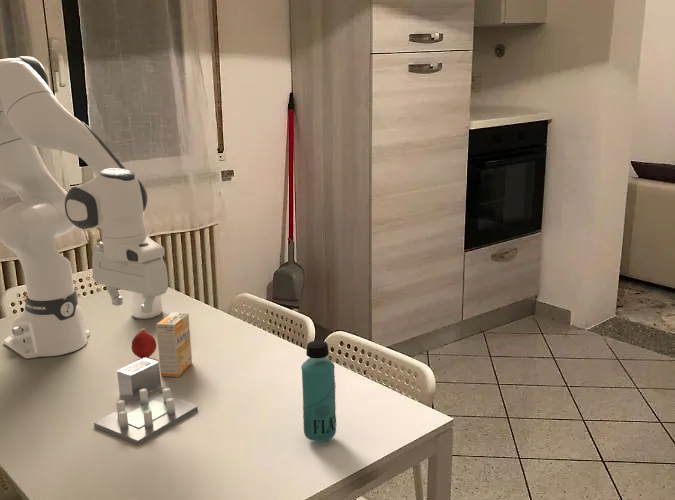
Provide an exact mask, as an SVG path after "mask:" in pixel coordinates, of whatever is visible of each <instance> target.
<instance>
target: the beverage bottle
mask: <svg viewBox="0 0 675 500" xmlns="http://www.w3.org/2000/svg"><path fill="white" fill-rule="evenodd" d="M305 353H306V356H307V357H308V358H307V359H306V360H305V361H304V362H303V363H302V364H301V368H300V369H301V379H302V380H301V386H302V417H303V418H302V419H303V420H302V421H303V427H302V428H303V434H304V436H305V437H306V439H308V440H310V441H312V442H327V441H329V440H332V439H333V438H334V436H335V435H336V432H337V425H338V424H337V414H336V409H337V408H336V403H337V402H336V391H337V390H336V389H337V387H336V380H335V379H336V375H335V363H334V362H333V360H331V359H330V358H327V357H328V356H329V354H330V352H329V344H328V343H327V342H326V341H324V340H313V341H310V342H308V343H307V344H306V352H305Z"/></svg>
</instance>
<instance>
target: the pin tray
mask: <svg viewBox="0 0 675 500" xmlns="http://www.w3.org/2000/svg"><path fill="white" fill-rule="evenodd" d="M171 392H172V391H171V388H169V387H165V388H163V389H162V393H160V392H158V391H156V390H155V391H154V390H153V391H151V392H148V393H147V389H141V390H139V393H140V397H139V398H137V399H135V400H133V402H131V403H128V404H127V405H126V402H125V400H121V399H120V400H117V401H116V403H115V404H116V410H115V411H113V412H111V413H109V414H107V415H105V416H104V417H102V418H100V419H97V420H96V421H94V422H93V426H94V428H95V429H98V430H100V431H103V432H105V433H107V434H110V435H112V436H116V437H117V438H120V439H122V440H124V441H127V442H129V443H132V444H134V445H137V446H140V445H142V444H143V443H145V442H146V441H149V440H150V439H151V438H153V437H155V436H156V435H158V434H160V433H162V432H164V431H165V430H167V429H169V428H170V427H172V426H174V425H176V424H177V423H179V422H180V421H183V420H184V419H186V418H187V417H189V416H191V415H193V414H194V413H196V412H198V405H195V404H192V403H189V402H186V401H184V400H181V399H178V398H175V397H172V393H171Z"/></svg>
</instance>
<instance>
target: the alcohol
mask: <svg viewBox="0 0 675 500" xmlns="http://www.w3.org/2000/svg"><path fill="white" fill-rule="evenodd" d="M142 220H143V225H144V227H145V230H146V236H148V231H147V223H146V216H145V211H144V212H143V217H142ZM148 237H149V236H148ZM128 296H129V297H128V298H129V307H130V314H131V316H132V317H133V318H136V319H139V320H142V319H143V320H145V319H153V318H156V317H158V316H159V315H161V314H162V312H163V304H162V295H159V296H156V297H155V299H154V301H153V304H152V309H153V310H152V312H151V313H148V314H147V313H143V312H142V311H141V310H142V309H141V305H143V304H144V302H145V299H144V298H143V294H140V293H135V292H131V291H128Z"/></svg>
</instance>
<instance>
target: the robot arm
mask: <svg viewBox="0 0 675 500" xmlns="http://www.w3.org/2000/svg"><path fill="white" fill-rule="evenodd" d="M37 147H38V148H42V149H50V150H57V151H62V152H66V153H69V154H72V155H74V156H77V157H79V158H80V159H81V160H83V161H84V162H85V163H86V165H87V166H88V167H89V168H90V169H91V171H92V172H93V173H94V174H95V175H96V176H95V177H94V178H92V179H91V180H88V181H86V182H83V183H82V184H78V185H75V186H72V187H71V188H70V189H69V190H68V191H66V190H65V189H64V188H63V187H62V186H61V185H60V184H59V182H58V181H57V180H56V179H55V178H54V176H53V175H52V174H51V173H50V171H49V170H48V168H47V165H46V164H45V162H44V160H43V158H42V156H41V154H40V152H39V150H38V148H37ZM0 184H1V185H3V186H4V187H6V188H7V187H8V188H9V189H11V190H12V191H13V192H14V193H15V194H16V195H17V196H18V197H19V198H20V200H21V201H20V202H16V203H14V204H12V205H10V206H8V207H7V208H6V209H4V210H3V211H1V212H0V243H1V244H2V245H3V246H5V247H6V248H8V249H9V250H11V251H13V253H14V254H15V255H16V257H17V259H18V261H19V263H20V265H21V268H22V270H23V272H22V273H23V275H24V281H25V287H26V293H27V295H25V296H22V298H23V299H22V301H23V302H25V305H24V310H23V311H21V313H20V314H18V316H16V317H15V318H14V319H13V321H12V323H11V328H12V329H11V333H12V334H10V335H8V336H7V337H6V338H5V339H4V340H3V345H5V346H7V348H10V349H11V350H12V351H13V352H15V353H17V354H18V355H19V356H21V357H23V358H24V359H34V358H40V357H42V358H43V357H55V356H61V355H65V354H69V353H72V352H75V351H78V350H80V349H81V348H83V347H85V346H86V345H87V344H88V341H89V340H88V337H89V336H90V334H91V332H90V330H89V329H86V324H85V319H84V316H83V315H84V314H83V310H82V308H81V306H79V305H78V304H79V301H78V294H77V290H76V289H75V285H74V278H73V269H72V263H71V261H70V260H69V259H68V258H67V257H66V256H64V255H61V254H60V252H59V250H58V247H57V244H56V239H57V238H58V237H61V236H64V235H66V234H68V233H70V232H71V231H72V230H74V229H75V228H76V227H77V228H79V229H82V230H92V229H95V228H99V229H100V230H101V239H102V241H98V242H96V243H95V244H94V246H93V254H92V259H91V261H92V262H91V263H92V264H91V266H92V269H91V270H92V279H93V281H94V282H95V283H96V284H98V285H103V286H105V287H106V291H107V293H108V295H109V296H110V299H111V304H112V305H113V306H116V307H119V306H121V305H123V304H124V302H123V296H121V295H120V293H119V290H124V291H127V292H129V291H131V292H135V293H140V294H143V298H144V299H145V302H144V304H143V305H141V309H142V310H141V311H142V312H143V313H147V314H148V313H151V312H152V310H153V309H152V304H153V301H154V299H155V297H156V296H159V295H161V296H162V295H164V294H166V292H167V291H168V290H169V278H168V277H169V276H168V270H167V265H166V262H165V260H164V259H163V257H165V254H166V253H165V247H164V246H162V245H161V244H160V243H158V242H156V241H155V240H153V239H152V238H151V237H149V236H146V230H145V227H144V225H143V220H142V217H143V212H144V213H145V210H146V208H147V205H148V204H147V203H148V193H147V190H146V188H145V185H143V183H142V182H141V180H139V179H138V177H137V175H136V173H134V172H133V171H131V170H129V169H127V168H125V167H124V165H123V164H122V163H121V161H119V159H118V158H117V156H115V155H114V154H113V152H112V151H111V150H110V149H109V148H108V146H107V145H106V144H105V143H104V142H103V141H102V139H101V138H100V137H99V136H98V134H97V133H96V132H95V131H94V130H93V129H92V128H91V127H90V126H89V125H88V124H86V123H85V122H84V121H81V120H79V119H78V118H77V117H76V116H74V115H73V114H71V112H70V111H68V109H66V108H65V107H64V106H63V105H62V104H61V103H60V101H59V100H58V99H57V97H56V96H55V94H54V93H53V91H52V90H51V88H50V86H49V79H48V73H47V72H46V69H45V67H44V66H43V64H42V63H41V62H40V61H39V60H38V59H36V58H35V57H33V56H16V57H15V58H14V57H12V58H11V57H10V58H2V59H0Z"/></svg>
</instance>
